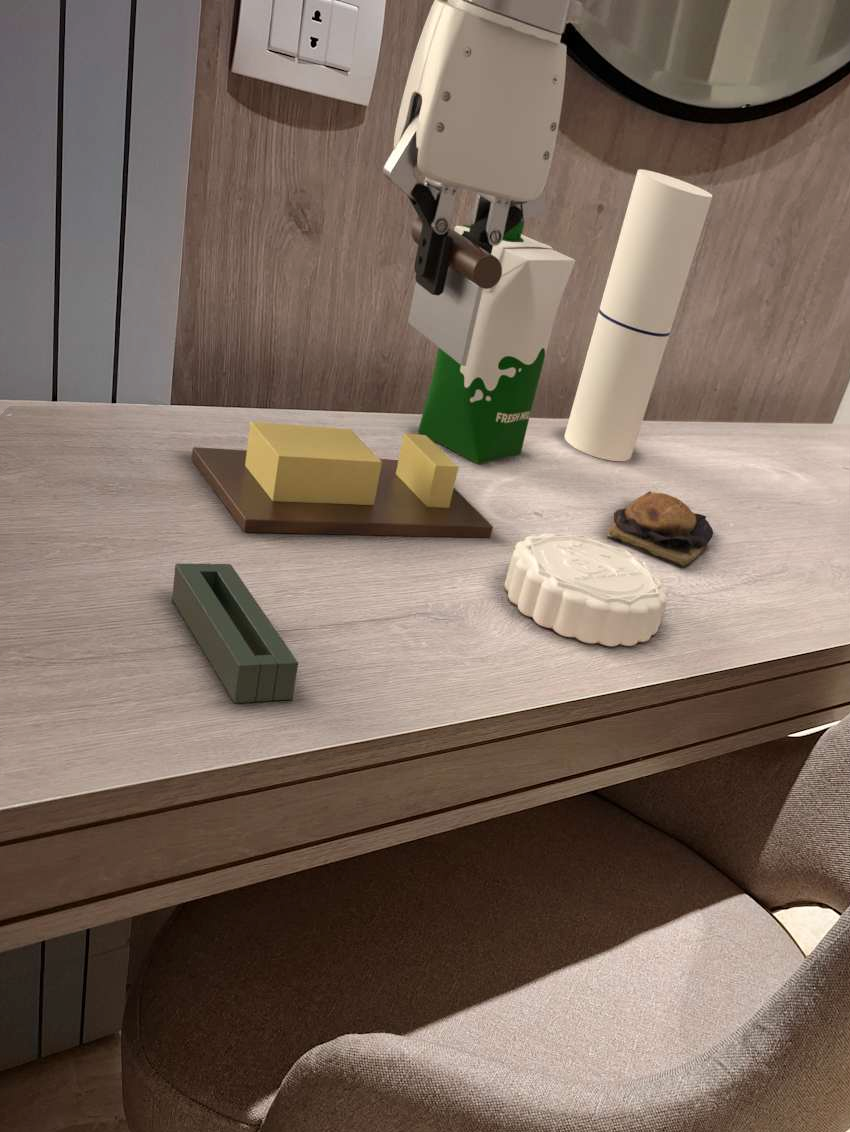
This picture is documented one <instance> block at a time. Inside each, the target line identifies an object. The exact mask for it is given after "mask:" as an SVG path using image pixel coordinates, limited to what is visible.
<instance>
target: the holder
mask: <svg viewBox="0 0 850 1132" xmlns="http://www.w3.org/2000/svg"><path fill="white" fill-rule="evenodd" d="M174 566H175V567H174V576H173V586H172V597H171V599H172V602H173V603H174V605H175V607H176V609H177V610H178V612H179V613H180V615H181V617H182V618H183V620H184V622H185V623H186V625H187V627H188V628H189V630H190V632H191V634H192V635H193V637H194V639H195V640H196V642H197V643H198V645H199V646H200V649H201V650H202V651H203V653H204V655H205V656H206V658H207V660H208V662H209V664H210V665H211V666H212V668H213V670H214V671H215V674H216V675H217V676H218V678H219V680H220V681H221V683H222V685H223V686H224V688H225V690H226V692H227V693H228V695H229V697H230V698H231V699H232V701H233V703H234V704H245V703H255V702H257V703H258V702H272V701H273V702H274V701H291V700H293V699H294V693H295V687H296V680H297V675H298V668H299V661H298V660H297V659H296V657H295V656H294V654H293V653H292V651H291V650H290V648H289V647H288V646H287V644H286V642H285V641H284V640H283V638H282V637H281V635H280V634H279V632H278V631H277V630H276V627H274V625H273V624H272V623H271V621H270V619H269V618H268V616H267V614H266V613H265V612H264V610H263V609H262V607H261V606H260V605H259V604H258V602H257V600H256V599H255V597H254V596H253V594H252V593H251V591H250V590H249V589H248V586H246V584H245V583H244V581H243V580H242V578H241V577H240V575H239V574H238V572H237V571H236V570H235V568H234V567H233V566H232V564H231V563H182V562H181V563H180V562H179V563H175V565H174Z"/></svg>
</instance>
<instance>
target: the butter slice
mask: <svg viewBox="0 0 850 1132" xmlns="http://www.w3.org/2000/svg"><path fill="white" fill-rule="evenodd" d="M397 460H398V465H397V470H396V475H397V476H398V477H399V478H400V479H401V480H402V481H403V482H404V483H405V484H406V485H407V486H408V488H409V489H410V490H411V491H412V492H413V493H414V494H415V495H416V496H417V497H418V498H419V499H420V500H421V501H422V502H423V503H424V504H425V505H426V506H427V507H437V508H449V506H450V502H451V497H452V493H453V489H454V488H455V484H456V479H457V476H458V471H459V466H458V465H457V464H456V463H455V462H454V461H453V460H452V459H451V458H450V457H449V456H448V455H447V454H446V453H445V452H444V451H443V450H442V449H441V448H440V447H439V446H438V445H436V443H435V442H434V441H433V440H432V439H430V438H428V437H427V436H426V435H422V434H419V433H418V434H417V433H406V432H405V433H403V436H402V441H401V445H400V450H399V456H398V459H397Z"/></svg>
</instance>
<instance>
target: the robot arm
mask: <svg viewBox="0 0 850 1132" xmlns="http://www.w3.org/2000/svg"><path fill="white" fill-rule="evenodd" d="M583 13H584V7H583V3H582V2H581V1H579V0H447V1H444V0H433V3H432V4H431V7H430V10H429V12H428V15H427V18H426V20H425V21H424V22H425V23H424V25H423V28H422V31H421V33H420V36H419V39H418V42H417V45H416V48H415V51H414V55H413V57H412V58H413V59H412V62H411V65H410V68H409V72H408V76H407V80H406V83H405V86H404V91H403V95H402V99H401V103H400V106H399V107H400V108H399V112H398V116H397V119H396V120H397V121H396V126H395V130H394V137H393V150H392V152H391V154H390V155H389V156H388V158H387V160H386V162H385V163H384V164H383V167H382V175H383V176H384V177H385V178H386V179H387V180H388V181H389V182H391V183H392V184H393V185H394V186H395V187H396V188H398V189H399V190H400V191H402V192H403V193H404V194H405V195H406V196H407V197H408V199H409V201H410V203H411V205H412V207H413V209H414V210H415V212H416V217H417V218H418V219H419V221H420V222H422V223H423V225H422V230H421V235H420V240H419V245H418V244H417V249H416V254H415V255H416V256H415V260H414V265H413V266H414V267H413V268H414V272H415V283H416V282H417V283H418V284H419V285H421V286H422V287H423V288H424V289H426V290H427V291H428V292H429V293H431V294H432V295H438V296H439V295H440V294H442V293H443V290H444V285H445V280H446V276H447V271H448V267H449V262H450V256H451V251H452V248H453V238H452V237H450V236H449V235H448V231H449V228H451V227H450V226H451V222H452V218H453V214H454V209H455V206H456V201H457V197H458V192H459V190H460V189H462V190H466V191H471V192H475V193H476V195H475V200H474V206H473V210H472V216H471V220H470V225H471V226H470V231H469V232H468V231H464V232H463V234H462V236H464V237H465V238H467V239H468V240H470V241H471V242H473V243H474V244H476V245H478V246H479V247H481V248H482V249H484V250H485V251H487V252H488V253H490V254H491V253H492V248H493V246H497V245H499V244H500V243H501V241H502V239H503V236H504V235H505V234H506V233H507V232H509V231H510V230H511V229H512V228H514V227H515V226H516V225H518V224H519V223H520V222H521V221H524V222H527V221H530V220H533V219H536V218H540V217H543V216H544V215H545V214H546V212H547V196H546V183H547V179H548V176H549V173H550V168H551V165H552V162H553V161H552V160H553V156H554V151H555V146H556V144H557V143H556V142H557V135H558V131H559V126H560V121H561V114H562V107H563V99H564V91H565V82H566V69H567V68H566V67H567V45H566V44H565V43H563V42H561V39H562V34H564V33H565V31H566V26H567V24H572V25H578V24H579V23H580V21H581V19H582V17H583ZM415 168H417V169H418V170H419V171H420V173H421V174H422V175H423V176H424V180H423V182H422V181H421V180H420V179H419V178H418V177H417V176H416V175H415V172H414V171H415Z"/></svg>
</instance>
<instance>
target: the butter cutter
mask: <svg viewBox="0 0 850 1132" xmlns="http://www.w3.org/2000/svg"><path fill="white" fill-rule="evenodd" d="M422 225H423V223H422V222H420V221H419V219H418V217H417V218H415V220H414V221H413V223H412V226H411V237H412V239H413V241H414V243H416V244H417V246H418V245H419V240H420V235H421V230H422ZM448 235H449V236H450V237H452V238H453V248H452V251H451V256H450V262H449V267H448V271H447V276H446V280H445V285H444V290H443V293H442V294H440V295H439V296H438V295H432V294H431V293H429V292H428V291H427V290H426V289H424V288H423V287H422V286H421V285H419V284H418V283H417V282H416V281H415V284H414V285H415V286H414V290H413V295H412V299H411V304H410V310H409V316H408V320H407V324H408V325H409V326H411V327H412V328H413V329H415V331H417V332H418V333H420V334H421V336H424V337H425V338H426V339H427V340H429V342H431V343H432V344H434V345H435V346H436V347H437V348H438V349H439V348H440V349H441V350H442V351H444V352H445V353H446V354H448V355H449V356H450V357H451V358H453V359H454V360H455V361H456V362H458V363H459V364H460V365H462V366H466V362H467V358H468V353H469V349H470V344H471V340H472V335H473V331H474V327H475V322H476V318H477V313H478V309H479V304H480V300H481V295H482V291H483V289H489V288H492V287H494V286H495V285H496V284H497V283H498V282H499V280H500V278H501V275H502V266H501V263H500V261H499V260H498V259H497V258H496V257H495V256H493V255H492V254H490V253H488V252H487V251H485V250H484V249H482V248H481V247H479V246H478V245H476V244H474V243H473V242H471V241H470V240H468V239H467V238H465V237H464V236H462V235H460V234H459V233H457V232H456V231H454V228H451V227H449V231H448Z"/></svg>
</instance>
